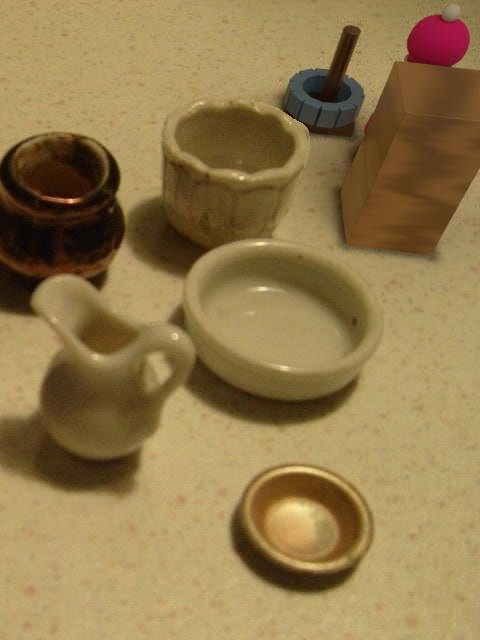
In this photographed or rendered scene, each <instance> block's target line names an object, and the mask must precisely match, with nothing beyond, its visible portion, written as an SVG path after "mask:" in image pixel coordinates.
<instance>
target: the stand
mask: <svg viewBox="0 0 480 640" xmlns="http://www.w3.org/2000/svg"><path fill="white" fill-rule="evenodd" d="M361 33H362V30H361V28H360V27H358V26H356V25H352V24H350V25H345V26H344V27H343V28H342V31H341V34H340V37H339V38H338V39H339V40H338V42H337V45H336V48H335V50H334V54H333V57H332V59H331V62H330V65H329V68H328V69H329V71H328V73H327V76H326V79H325V82H324V85H323V88H322V90H321V93H317V92H310V93H307V94H308V95H309V96H310V97H311V98H314V99H316V100H319V101H321V102H327V103H339V102H340V101H339V100H338V99H337V95H338V93H339V90H340V87H341V85H342V82H343V79H344V76H345V74H346V75H347V70H348V67H349V65H350V62H351V60H352V57H353V54H354V52H355V49H356V47H357V44H358V42H359V38H360V35H361ZM293 118H294V119H296V120H297V121H299V122H301V123H303V124H304V125H305V126H306V127H307V128H308V130H309V132H308V133H316V134H323V135H324V134H325V135H332V136H341V137H348V138H349V137H350V138H351V137H352V135H353V133H354V130H355V129H356V126H355V120H354V121H353V122H352V123H349V125H345V126H341V127H337V128H335V127H334V126H333V128H327V127H317V126H316V123H315V124H314V125H313V126H312V125H310V124H307V123H305V122H302V121H300V120H298V118H299V117H298V118H295V117H294V116H293V115H292V119H293Z"/></svg>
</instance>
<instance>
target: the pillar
mask: <svg viewBox="0 0 480 640" xmlns="http://www.w3.org/2000/svg"><path fill="white" fill-rule="evenodd" d="M373 112H374V113H373ZM373 112H372V113H373V115H372V114H371V115H372V118H371V120H370V123H369V125H368V127H367V130H366V132H365V135H364V134H363V137H362V140H361V141H360V144H359V147H358V149H357V152H356V154H355V156H354V159H353V161H352V164H351V166H350V169H349V171H348V173H347V176H346V178H345V181H344V183H343V185H342V188H341V190H340V200H341V209H342V218H343V219H342V221H343V228H344V229H343V230H344V238H345V245H348V246H354V247H355V246H356V247H362V248H370V249H376V250H377V249H378V250H386V251H392V252H401V253H407V254H414V255H415V254H416V255H422V256H423V255H424V256H432V254H433V253H434V250H435V249H436V247H437V245H438V244H439V242H440V240H441V238H442V236H443V234H444V233H445V231H446V230H447V227H448V226H449V224H450V223H451V220H452V219H453V217H454V215H455V213H456V211H457V210H458V208H459V206H460V204H461V202H462V200H463V199H464V197H465V195H466V194H467V192H468V190H469V188H470V186H471V185H472V184H473V181H474V180H475V178H476V176H477V174H478V172H479V171H480V69H472V68H465V67H454V66H452V67H447V66H438V65H429V64H420V63H411V62H404V61H401V60H395V61H394V62H393V64H392V67H391V70H390V72H389V74H388V77H387V79H386V82H385V84H384V87H383V90H382V91H381V94H380V96H379V99H378V101H377V103H376V105H375V108H374V111H373Z"/></svg>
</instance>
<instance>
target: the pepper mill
mask: <svg viewBox="0 0 480 640" xmlns="http://www.w3.org/2000/svg"><path fill="white" fill-rule="evenodd" d="M461 14H462V11H461V7H460V6H459V5H458V4H455V3H449V4H447V5H446V6H444V7H443V9H442V10H441V13H437V14H431V15H428V16H426V17H424V18H422V19H421V20H419V21H418V22H417V23H416V24H415V25H414V26H413V27H412V29H411V30H410V32H409V34H408V37H407V40H406V50H407V54H406V55H405V56H404V58H403V62H411V63H420V64H429V65H438V66H447V67H454V66H455V65H457V64H458V63H459V62H461V60H462V59H463V58H464V57H465V56H466V54H467V52H468V49H469V46H470V43H471V36H470V30H469V27H468V26H467V25H466V24H465V22H464V21H462V19H460V16H461ZM373 113H374V111H373V112H372V113H371V115H370V116H369V118H368V120H367V122H366V124H365V125H364V130H363V136H364V135H365V132H366V130H367V127H368V125H369V123H370V120H371V118H372V115H373Z"/></svg>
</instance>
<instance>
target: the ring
mask: <svg viewBox="0 0 480 640" xmlns="http://www.w3.org/2000/svg"><path fill="white" fill-rule="evenodd" d="M328 71H329V68H321V67H320V68H319V67H315V68H314V69H313V68H307V69H304V70H299V71H298V72H295V74H294V75H293V76H292V77H291V78H290V79H289V81H288V84H287V86H286V90H285V93H284V96H283V101H284V103H283V104H284V108H286V109H285V110H286V111H287V112H288V113H289V114H290V115H291V116H292V117H293V116H294V117H295V118H298V117H299V118H298V120H300V121H302V122H305V123H307V124H310V125H312V126H313V125H314V124H315V123H316V126H317V127H327V128H333V126H334V127H335V128H337V127H341V126H345V125H349V123H352V122H353V121H354V122H355V120H356V119H357V117H358V116H359V114H360V112H361V109H362V107H363V104H364V101H365V99H366V98H365V97H366V95H365V91H364V90H365V89H364V87H362V84H360V83H359V82H358V81H357V80H355V78H353V77H351V76H350V75H349V74H347V73H346V74H345V76H344V79H343V82H342V85H341V87H340V90H339V93H338V95H337V99H338V100H339V101H340V102H339V103H327V102H321V101H319V100H316V99H314V98H311V97H310V96H309V95H308V94H307V93H310V92H317V93H321V90H322V88H323V85H324V82H325V79H326V76H327V73H328Z"/></svg>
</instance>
